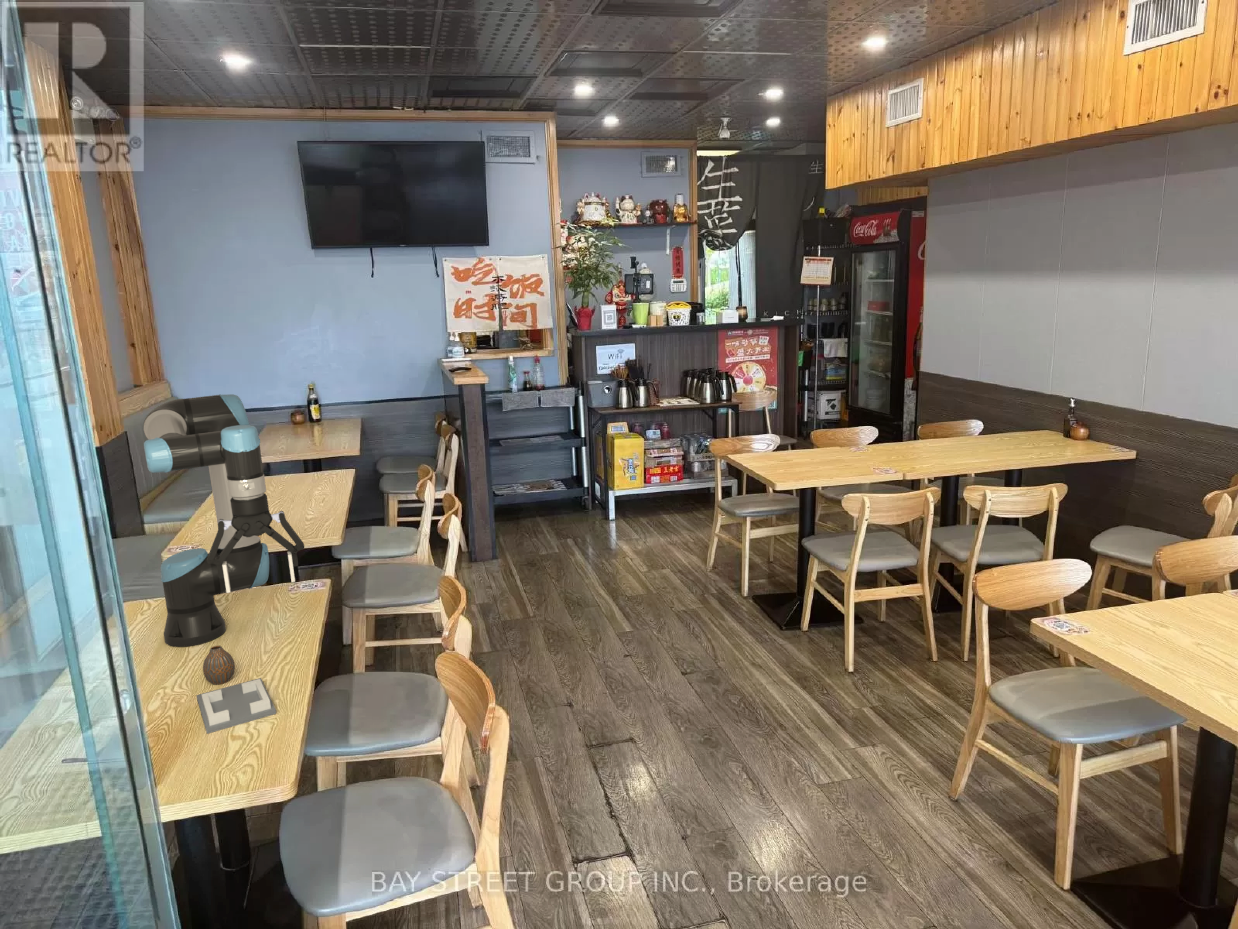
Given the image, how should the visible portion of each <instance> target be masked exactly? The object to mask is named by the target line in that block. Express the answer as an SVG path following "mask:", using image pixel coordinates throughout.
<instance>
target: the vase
mask: <svg viewBox="0 0 1238 929" xmlns="http://www.w3.org/2000/svg"><path fill="white" fill-rule="evenodd" d="M202 671H203V675H204V678H205V680H206V681H207V682H208V683H210V684H212V685H216V686H218V685H223V684H226V683H228V682H230V681H231V680H232V679H233V676H234V675H235V671H236V664H235V660H234V658H233V656H232V655H231V653H229V652H228V651H227V650H226V649H224V648H223V646H221V645H213V646H211V647H210V649H209V652H208V653H207V655H206V657H205V658H204V661H203V664H202Z"/></svg>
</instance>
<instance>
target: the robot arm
mask: <svg viewBox="0 0 1238 929" xmlns="http://www.w3.org/2000/svg"><path fill="white" fill-rule="evenodd" d="M142 427H143V433H144V435H145V437H146V438H147V440H145V441H144V442H143V448H144V449H143V450H144V455H145V456H144V457H145V461H146V467H147V470H148V471H149V472H150V473H152V474H153V473H154V474H157V473H158V474H159V473H169V472H174V471H180V470H188V469H195V468H203V467H208V472H209V479H210V484H211V489H212V490H211V491H212V496H213V503H214V504H213V505H214V510H215V511H214V512H215V516H216V522H217V532H216V534H215V537H214V539H213V541H212V545H211V546H210V547H211V548H210V549H209V552H208V551H207V549H205V548H201V547H199V548H192V549H191V548H190V549H186V550H182V551H180V552H177V553H174V554H172V555H171V556H168V557H166V558H165V559H164V560H163V561H162V563H161V564H160V582H162V587H163V594H164V601H165V607H166V613H167V615H166V620H165V621H166V622H165V625H164V631H163V638H164V643H165V645H167V644H168V645H167V646H169V645H170V647H178V648H181V647H182V648H183V647H184V648H185V647H191V646H198V645H202V644H204V643H205V644H206V643H208V642H211V641H214V640H216V639H218V638H220V637H221V636H222V635H223V634H225V633H226V630H227V626H226V621H225V619H224V617H223V615H222V613H221V612H220V610H219V609H218V607H217V605H216V603H215V597H214V596H217V595H223V594H228V593H232V592H236V591H241V590H247V589H249V590H251V589H253V588H255V587H259V586H263V585H265V584H266V583H267V581H268V579H269V575H270V555H269V547H268V545H267V544H266V543H265V542H262V541H261V540H262V539H261V537H260V536H262V535H264V534H266V535H267V536H269V537H270V538H272V539H273V540H274V541H276V542H277V543H278V544H279V545H281V546H282V547H283V548H284V549H286V550H287V559H288V566H289V574H290V579H291V583H294V582H296V577H295V571H294V568H295V567H298V566H299V561H298V560H299V558H298V552H299V551H303V550H304V549H305V543H304V542H303V540H302V539H301V538H300V537H299V536H300V535H298V534H297V532H296V531H295V530H294V528H293V527H292V526H291V524H290V522H288V520H287V518H286V515H285V511H284V510H280V511H278V512H276V513H272V514H271V512H270V510H269V501H268V500H269V499H268V494H266V492H267V487H266V479H265V474H264V468H263V461H262V460H263V459H262V453H261V452H262V451H261V439H260V437H259V432H258V428H257V427H256V426H255V425H250V421H249V419H248V415H247V411H246V409H245V406H244V403H243V401H242V399H241V397H240V396H238V394H212V395H207V396H205V395H204V396H198V397H197V396H195V397H187V398H176V399H172V400H169V401H167V402H164V403H161V404H160V405H158V406H155V408H154V409H152V410H151V411H149V413H148V414H147V415H146V417H145V419H144V421H143V426H142ZM273 520H274V521H275V522H276V523H280V524H281V526H282V528H283V530H285V532H286V533H287V534H288V536H289V537H290V539H291V540H292V541H293V542H294V544H295V545H294V544H293V543H291V542H290V541H289V540H288V539H287V538H285V537H284V536H283V535H281V534H280V533H279V532H278V531H277V530H275V529H274V528H273V527H272V526H271V523H272V521H273Z"/></svg>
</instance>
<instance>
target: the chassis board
mask: <svg viewBox="0 0 1238 929" xmlns="http://www.w3.org/2000/svg"><path fill="white" fill-rule="evenodd" d="M196 701H197V704H198V707H199V711H200V715H201V718H202V722H203V725H204V729H205V731H206V734H207V735H208V734H211V733H214V732H217V731H221V730H226V729H228V728H229V729H230V728H232V727H235V726H238V725H243V724H245V723H249V722H253V721H256V720H259V719H264V718H265V717H269V716H274V715H277V709H276V706H275V705H274V703H273V701H272V699H271V697H270V695H269V692H268V690H267V688H266V686H265V684H264V682H263V679H262V677H259V678H255V679H251V680H248V681H247V680H246V681H244V682H241V683H236V684H233V685H229V686H226V687H221V688H219V689H214V690H210V691H207V692H203V693H200V694H196Z"/></svg>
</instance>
